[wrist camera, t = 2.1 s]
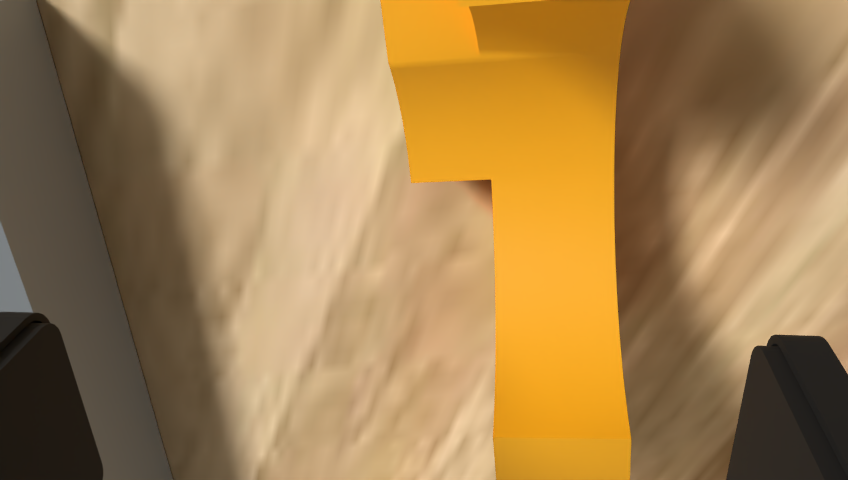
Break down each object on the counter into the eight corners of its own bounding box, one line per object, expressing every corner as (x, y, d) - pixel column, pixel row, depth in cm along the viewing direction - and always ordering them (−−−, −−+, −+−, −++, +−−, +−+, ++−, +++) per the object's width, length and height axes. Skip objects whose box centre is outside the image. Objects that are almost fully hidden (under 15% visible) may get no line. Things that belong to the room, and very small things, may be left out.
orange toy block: (392, -152, 16) (315, -132, 10) (607, -177, 15) (654, -170, 9) (445, 324, 21) (414, 506, 16) (601, 322, 21) (628, 511, 15)
